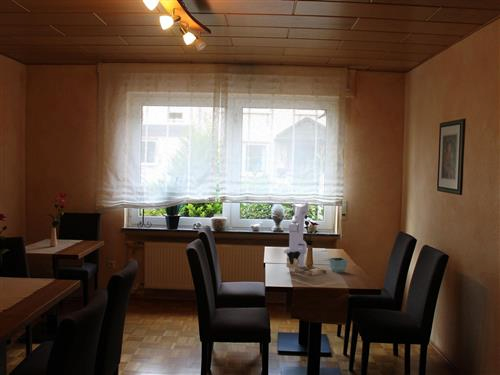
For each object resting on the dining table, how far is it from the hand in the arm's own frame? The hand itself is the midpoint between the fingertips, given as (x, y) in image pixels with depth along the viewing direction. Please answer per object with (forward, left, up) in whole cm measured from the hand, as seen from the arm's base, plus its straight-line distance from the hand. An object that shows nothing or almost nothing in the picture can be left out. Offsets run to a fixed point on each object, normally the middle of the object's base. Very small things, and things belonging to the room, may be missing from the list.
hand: (293, 263), depth 300 cm
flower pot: (+12, +29, -7) cm, 32 cm away
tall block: (0, 0, -3) cm, 3 cm away
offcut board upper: (+9, +11, -5) cm, 15 cm away
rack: (+5, +11, -7) cm, 13 cm away
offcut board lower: (+8, +11, -6) cm, 15 cm away
